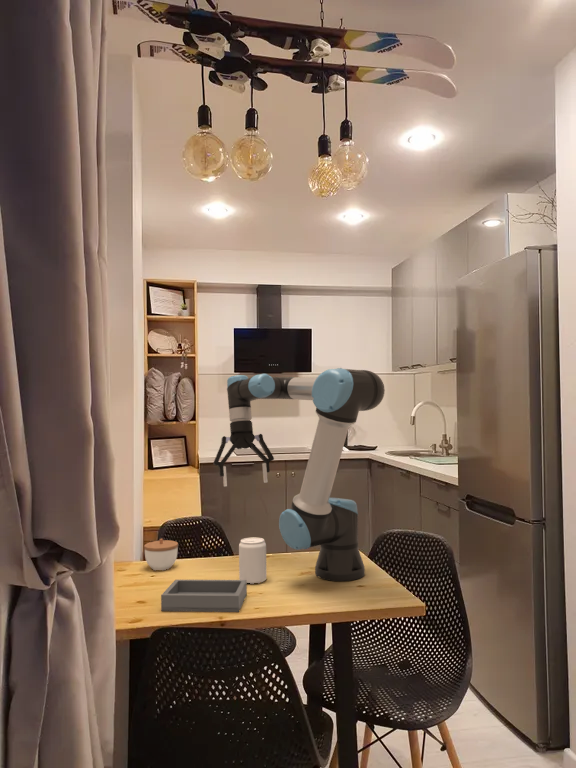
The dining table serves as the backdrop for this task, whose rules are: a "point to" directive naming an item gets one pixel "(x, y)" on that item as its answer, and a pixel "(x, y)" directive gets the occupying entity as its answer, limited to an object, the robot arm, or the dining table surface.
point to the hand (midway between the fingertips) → (245, 484)
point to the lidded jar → (161, 554)
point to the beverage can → (252, 560)
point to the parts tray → (204, 595)
